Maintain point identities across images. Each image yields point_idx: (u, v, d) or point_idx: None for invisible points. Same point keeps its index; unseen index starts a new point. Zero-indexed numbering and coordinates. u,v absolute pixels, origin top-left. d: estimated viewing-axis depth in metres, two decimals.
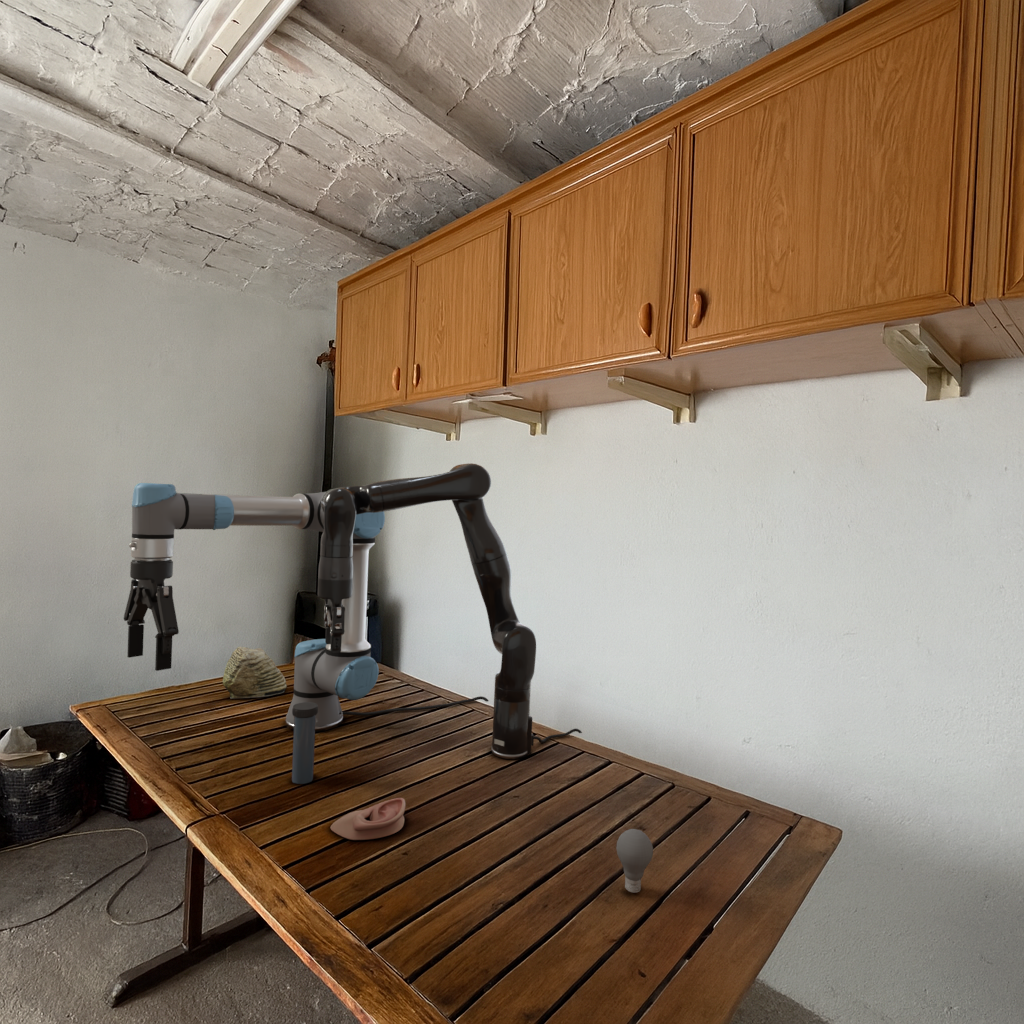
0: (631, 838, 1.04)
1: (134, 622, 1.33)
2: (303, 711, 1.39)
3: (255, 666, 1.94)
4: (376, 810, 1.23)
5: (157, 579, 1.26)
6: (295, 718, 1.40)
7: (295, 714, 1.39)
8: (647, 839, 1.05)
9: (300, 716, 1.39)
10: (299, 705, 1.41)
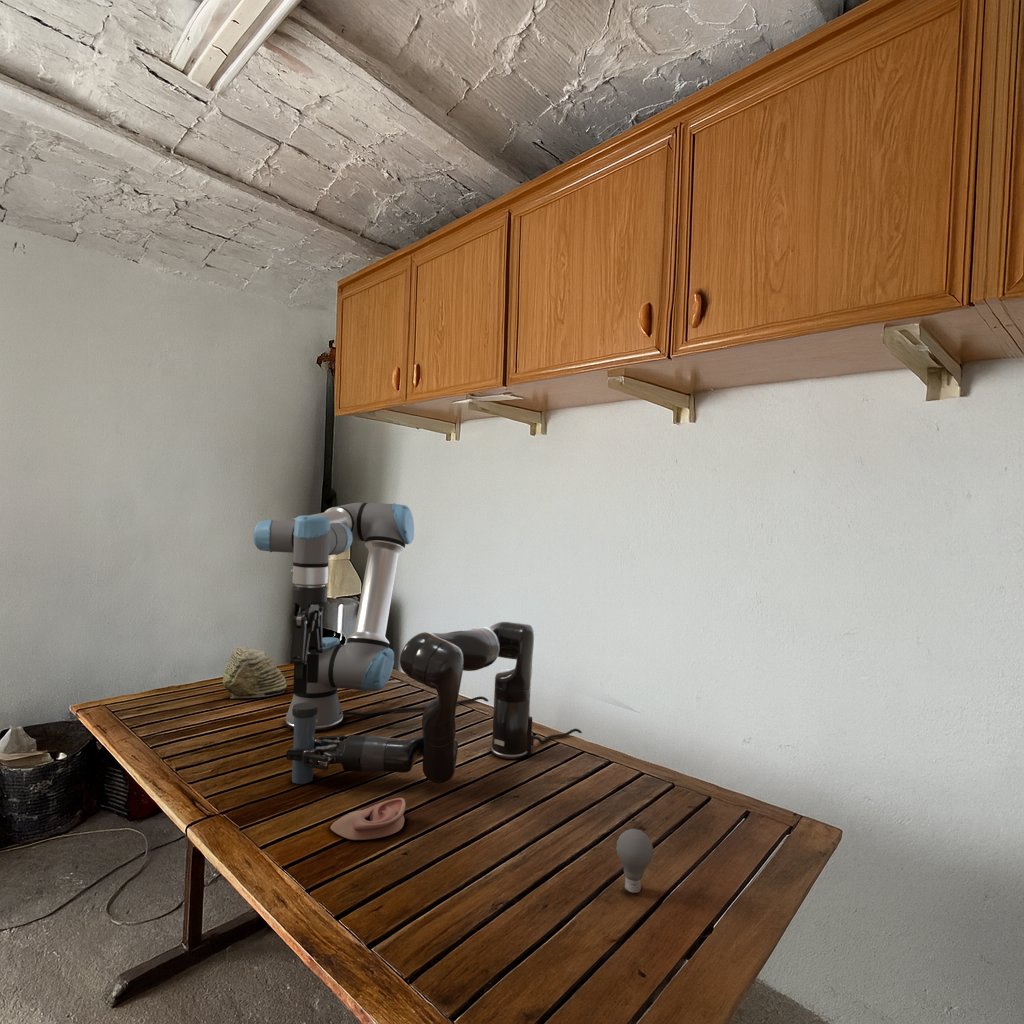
0: (631, 838, 1.04)
1: (312, 650, 1.45)
2: (303, 711, 1.39)
3: (255, 666, 1.94)
4: (376, 810, 1.23)
5: (302, 605, 1.37)
6: (295, 718, 1.40)
7: (295, 714, 1.39)
8: (647, 839, 1.05)
9: (300, 716, 1.39)
10: (299, 705, 1.41)
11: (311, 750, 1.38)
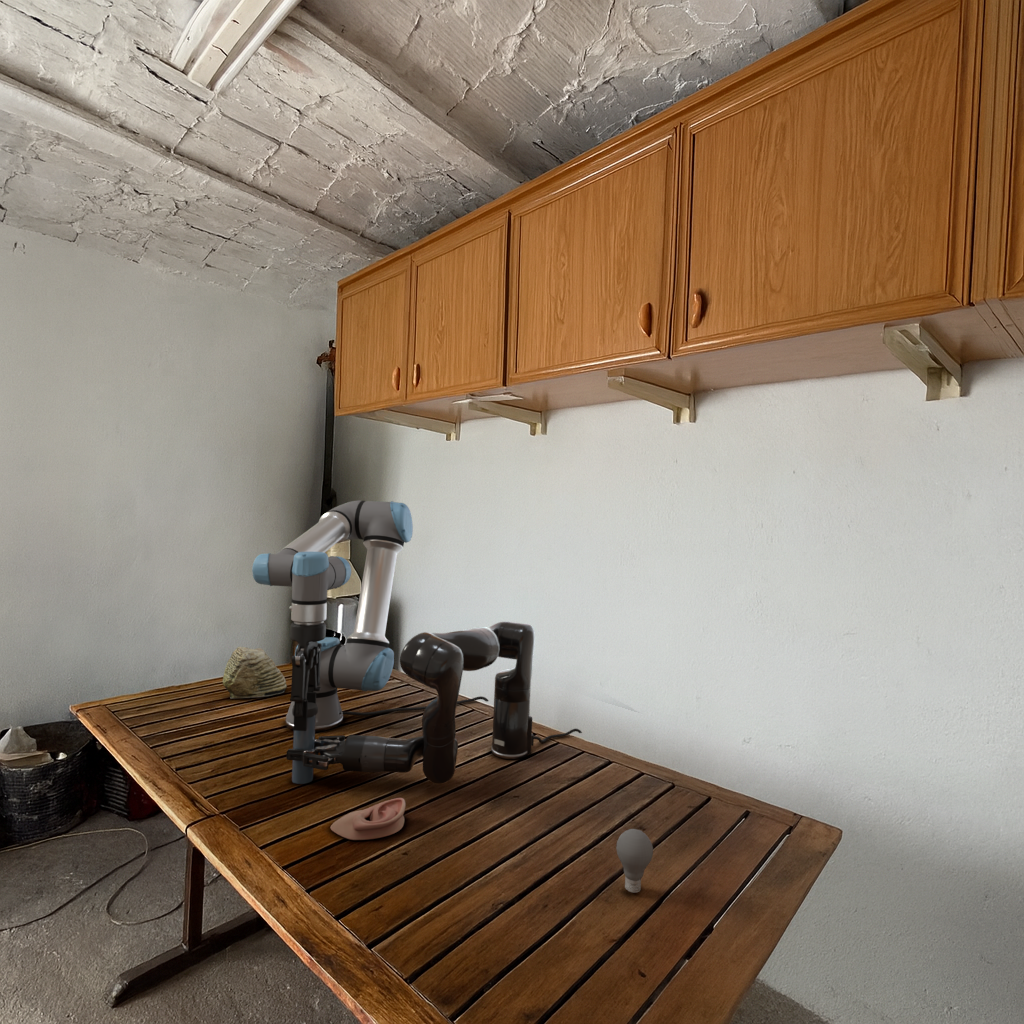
0: (631, 838, 1.04)
1: (309, 688, 1.44)
2: None
3: (255, 666, 1.94)
4: (376, 810, 1.23)
5: (300, 642, 1.37)
6: None
7: None
8: (647, 839, 1.05)
9: None
10: None
11: (311, 750, 1.38)
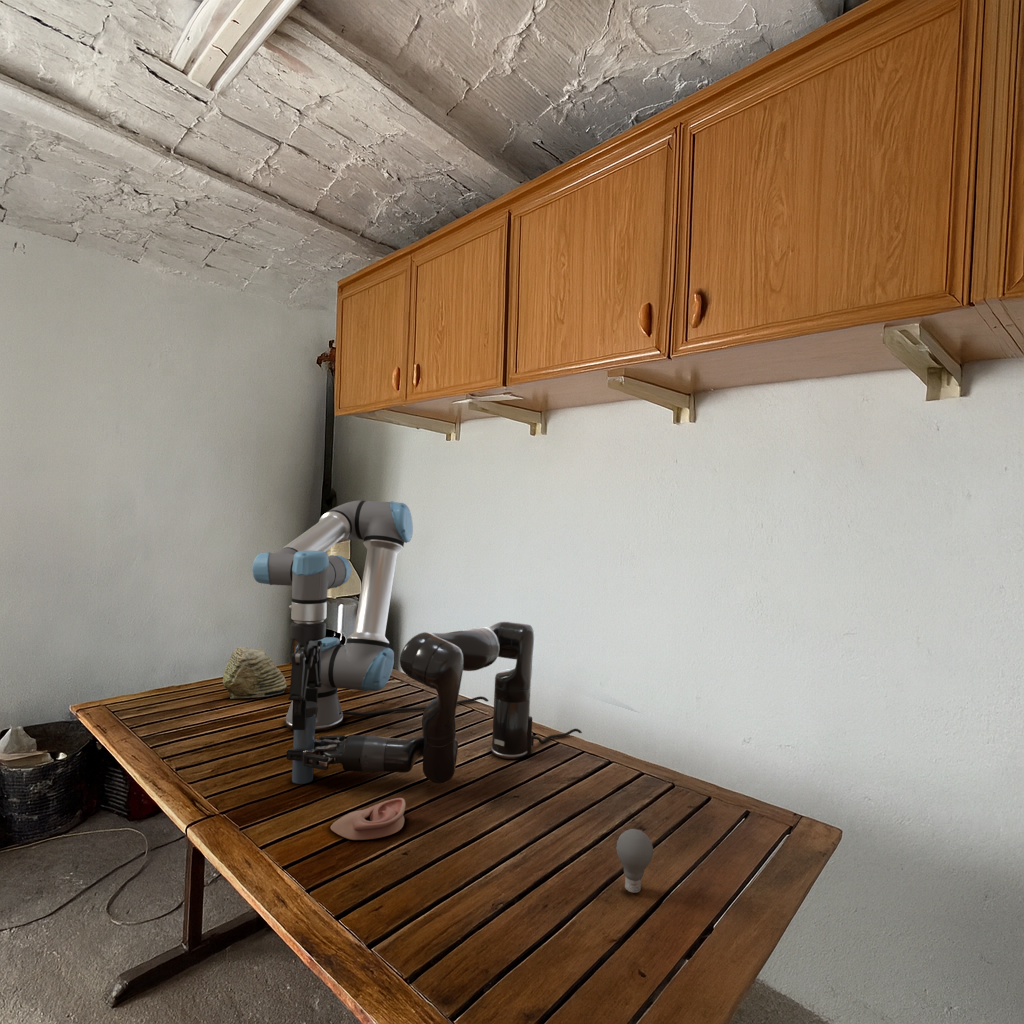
0: (631, 838, 1.04)
1: (311, 684, 1.45)
2: (315, 708, 1.40)
3: (255, 666, 1.94)
4: (376, 810, 1.23)
5: (300, 641, 1.37)
6: None
7: (307, 714, 1.39)
8: (647, 839, 1.05)
9: (313, 713, 1.40)
10: None
11: (311, 750, 1.38)
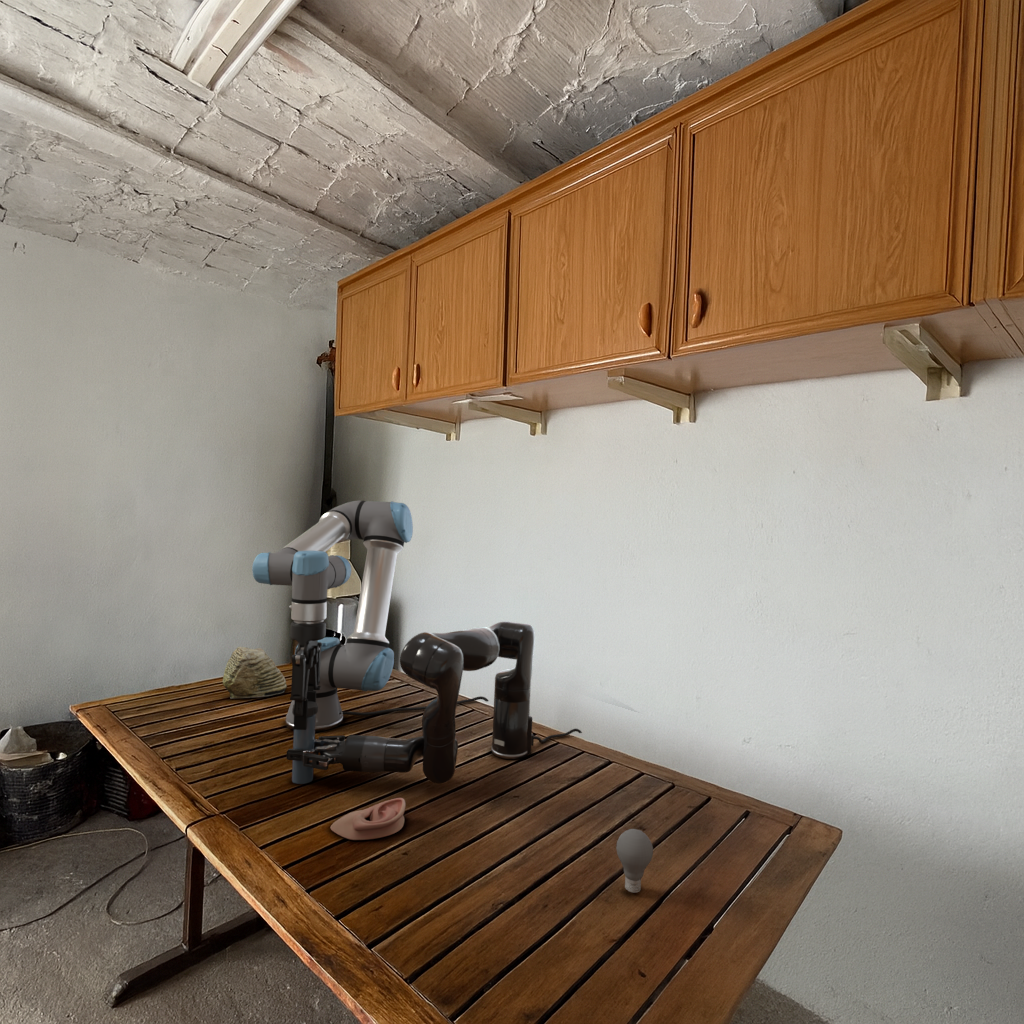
0: (631, 838, 1.04)
1: (309, 687, 1.44)
2: (315, 708, 1.40)
3: (255, 666, 1.94)
4: (376, 810, 1.23)
5: (300, 641, 1.37)
6: None
7: None
8: (647, 839, 1.05)
9: (313, 713, 1.40)
10: None
11: (311, 750, 1.38)
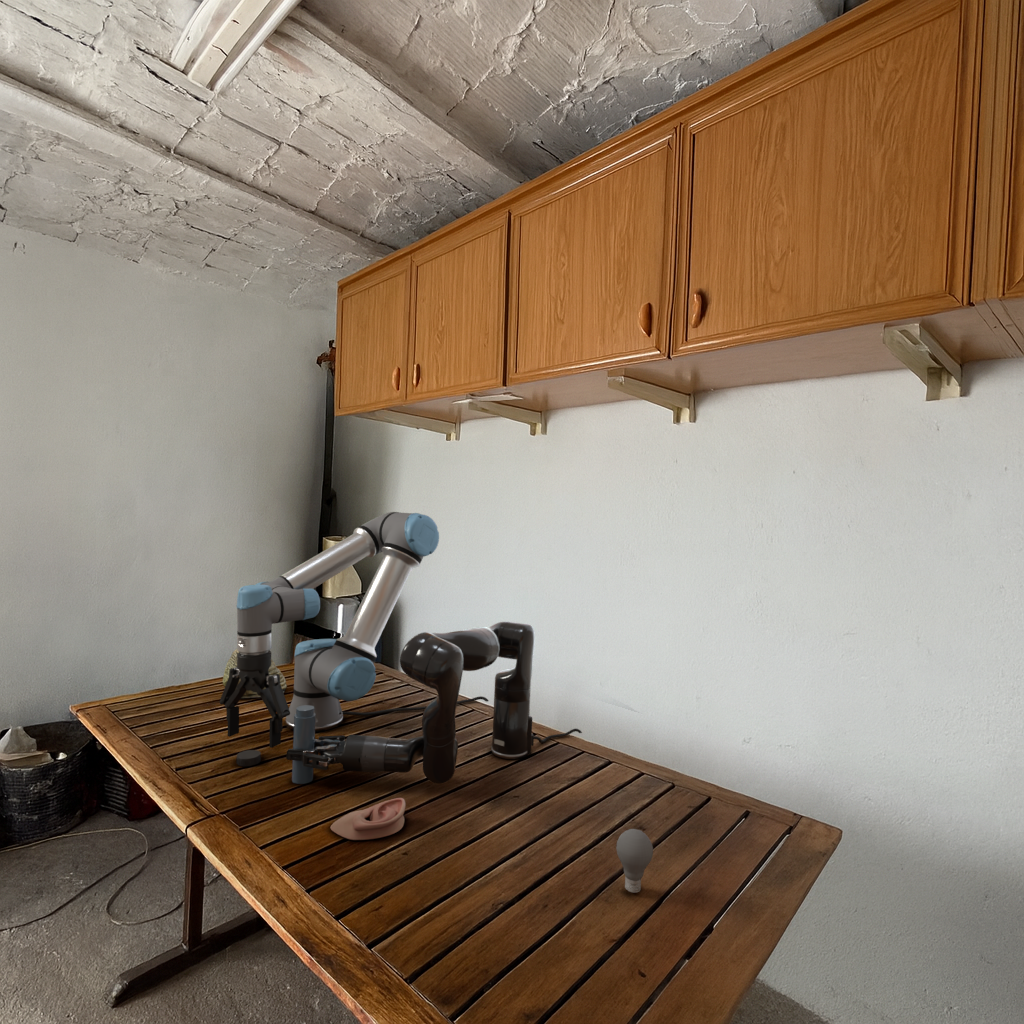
0: (631, 838, 1.04)
1: (231, 705, 1.53)
2: None
3: None
4: (376, 810, 1.23)
5: (264, 670, 1.48)
6: (295, 718, 1.40)
7: (260, 759, 1.50)
8: (647, 839, 1.05)
9: None
10: (250, 756, 1.48)
11: (311, 750, 1.38)
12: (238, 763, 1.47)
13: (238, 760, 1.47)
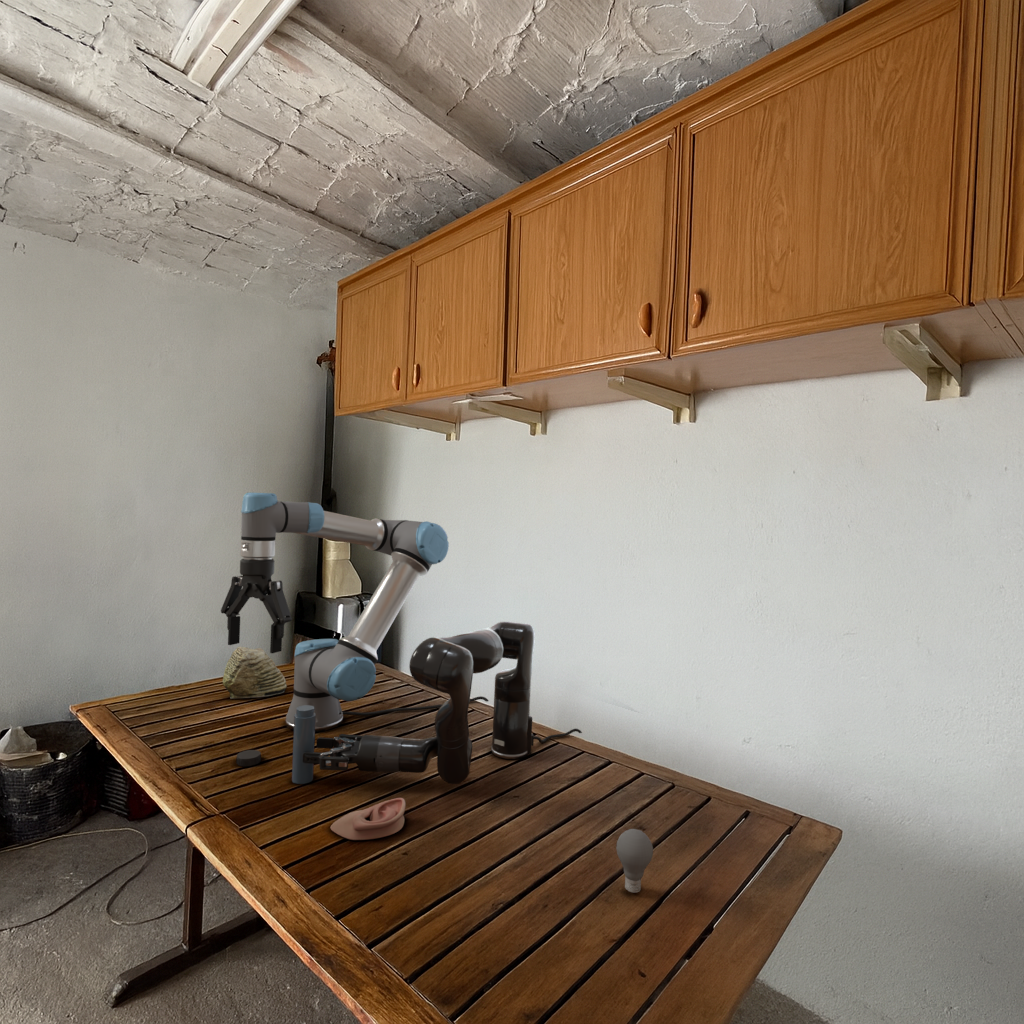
0: (631, 838, 1.04)
1: (232, 614, 1.52)
2: None
3: (255, 666, 1.94)
4: (376, 810, 1.23)
5: (267, 576, 1.47)
6: (295, 718, 1.40)
7: (260, 759, 1.50)
8: (647, 839, 1.05)
9: None
10: (250, 756, 1.48)
11: (327, 753, 1.37)
12: (238, 763, 1.47)
13: (238, 760, 1.47)
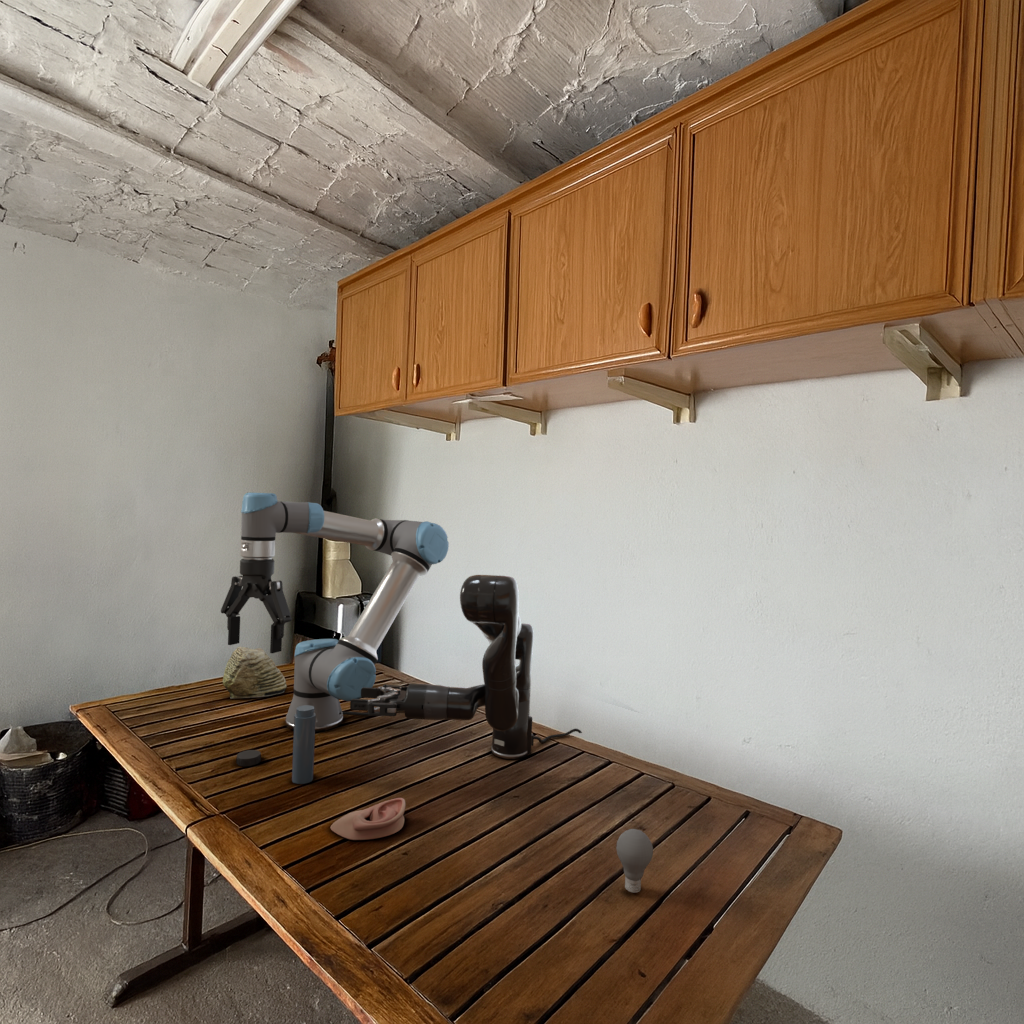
0: (631, 838, 1.04)
1: (232, 614, 1.52)
2: None
3: (255, 666, 1.94)
4: (376, 810, 1.23)
5: (267, 576, 1.47)
6: (295, 718, 1.40)
7: (260, 759, 1.50)
8: (647, 839, 1.05)
9: None
10: (250, 756, 1.48)
11: (375, 699, 1.37)
12: (238, 763, 1.47)
13: (238, 760, 1.47)
